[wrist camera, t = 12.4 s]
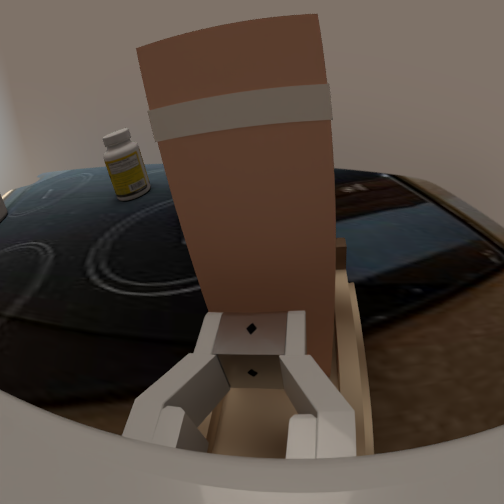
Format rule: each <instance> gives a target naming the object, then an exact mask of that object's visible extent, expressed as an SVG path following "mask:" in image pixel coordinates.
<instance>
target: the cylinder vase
mask: <svg viewBox="0 0 504 504" xmlns="http://www.w3.org/2000/svg"><path fill="white" fill-rule="evenodd" d="M6 215H7V209H6V206H5V204H4V202H3V199H2V197H1V195H0V222H1V221H2V220H3V219H4V218H5V216H6Z"/></svg>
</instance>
